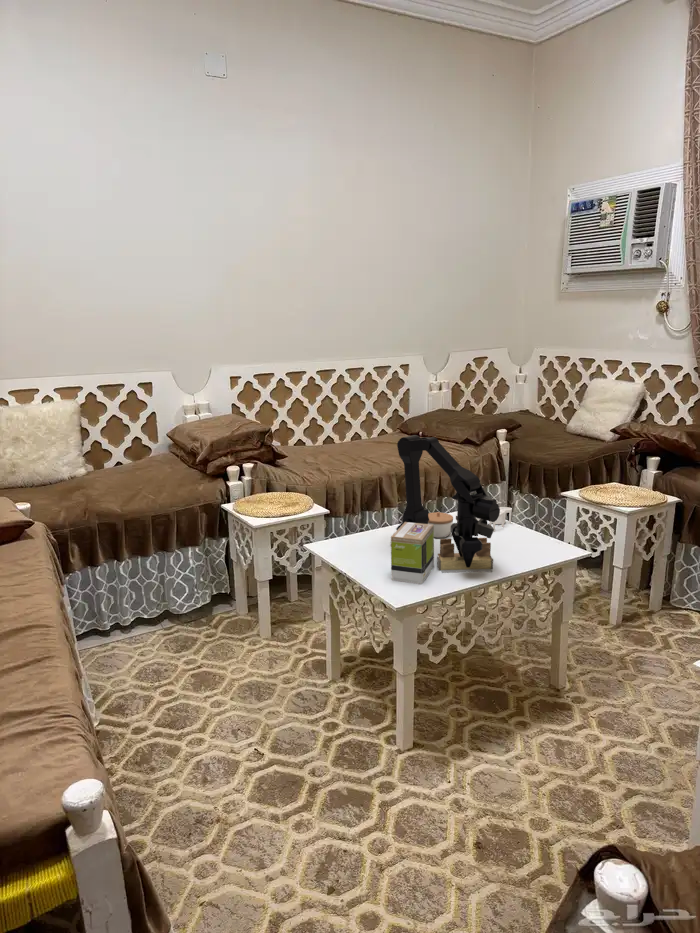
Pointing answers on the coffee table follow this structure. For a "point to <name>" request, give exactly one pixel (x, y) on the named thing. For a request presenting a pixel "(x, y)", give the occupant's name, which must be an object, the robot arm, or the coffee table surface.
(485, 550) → the stand
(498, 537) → the coffee table surface
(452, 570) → the mat
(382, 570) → the coffee table surface
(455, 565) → the rail
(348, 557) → the coffee table surface
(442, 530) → the lidded jar
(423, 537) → the tea box
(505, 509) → the skeletal toy car
